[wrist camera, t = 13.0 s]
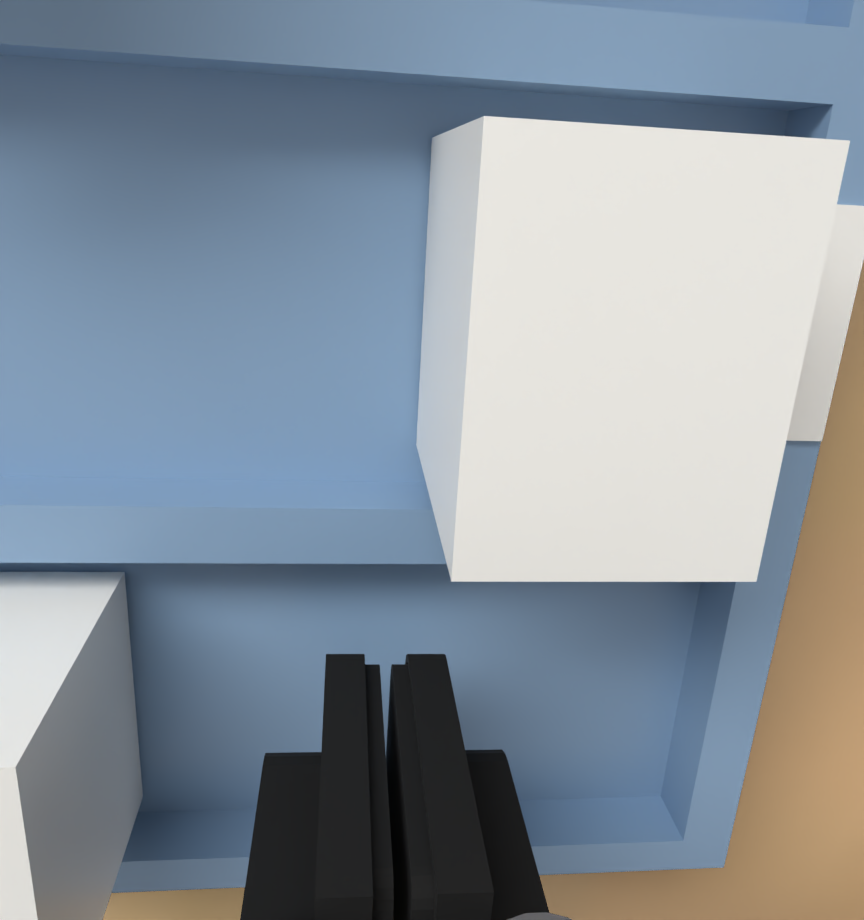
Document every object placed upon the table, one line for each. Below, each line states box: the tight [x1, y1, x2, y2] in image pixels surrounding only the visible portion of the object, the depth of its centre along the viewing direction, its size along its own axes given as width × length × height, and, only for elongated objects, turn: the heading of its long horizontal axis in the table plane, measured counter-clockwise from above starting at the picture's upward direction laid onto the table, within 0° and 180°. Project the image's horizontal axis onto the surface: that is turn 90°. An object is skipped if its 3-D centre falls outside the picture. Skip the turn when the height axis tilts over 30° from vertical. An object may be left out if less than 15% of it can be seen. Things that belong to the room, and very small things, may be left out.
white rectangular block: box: [416, 116, 850, 582], centre depth 9 cm, size 3×4×4 cm
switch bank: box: [0, 0, 864, 893], centre depth 11 cm, size 16×18×3 cm
